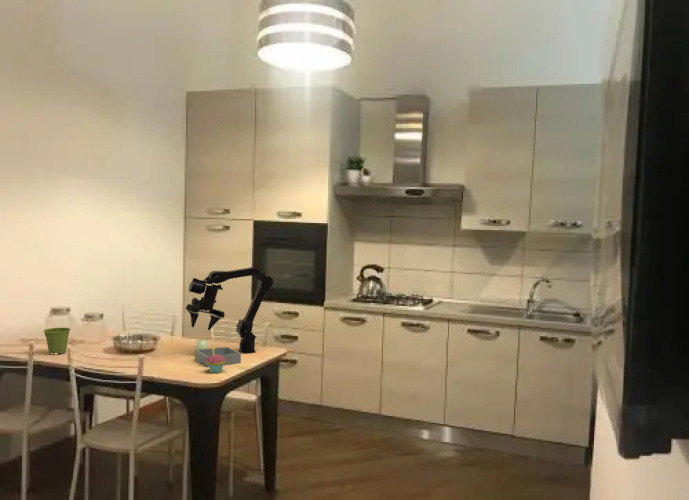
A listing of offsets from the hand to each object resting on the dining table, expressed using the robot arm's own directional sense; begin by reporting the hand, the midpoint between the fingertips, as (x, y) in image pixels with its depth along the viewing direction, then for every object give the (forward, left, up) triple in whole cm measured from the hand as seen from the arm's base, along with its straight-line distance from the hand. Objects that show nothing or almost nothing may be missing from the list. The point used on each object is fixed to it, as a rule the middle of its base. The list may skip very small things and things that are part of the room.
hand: (200, 328), depth 295 cm
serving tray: (-3, +16, -13) cm, 20 cm away
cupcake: (+4, +33, -13) cm, 35 cm away
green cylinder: (-1, 0, -13) cm, 13 cm away
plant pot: (+58, -34, -13) cm, 69 cm away
